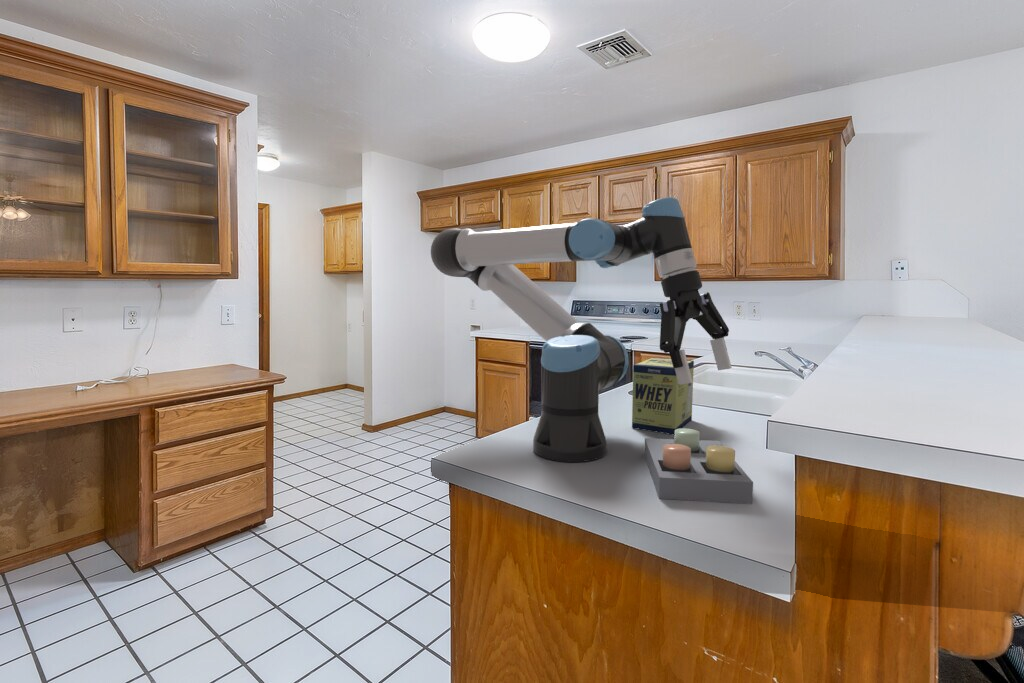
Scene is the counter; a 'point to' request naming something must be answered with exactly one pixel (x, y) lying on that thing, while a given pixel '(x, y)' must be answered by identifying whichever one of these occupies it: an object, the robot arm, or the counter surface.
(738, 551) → the counter surface
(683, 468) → the terracotta button
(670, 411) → the protein box
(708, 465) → the mustard button
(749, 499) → the console
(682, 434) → the sage button
